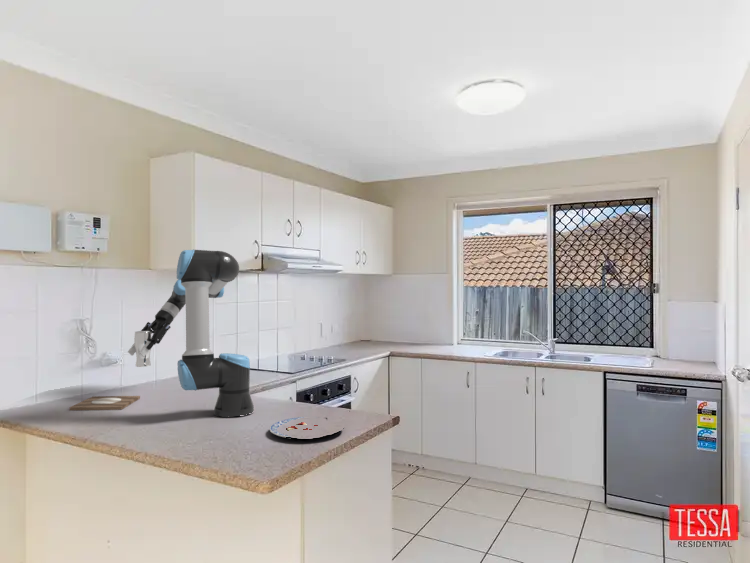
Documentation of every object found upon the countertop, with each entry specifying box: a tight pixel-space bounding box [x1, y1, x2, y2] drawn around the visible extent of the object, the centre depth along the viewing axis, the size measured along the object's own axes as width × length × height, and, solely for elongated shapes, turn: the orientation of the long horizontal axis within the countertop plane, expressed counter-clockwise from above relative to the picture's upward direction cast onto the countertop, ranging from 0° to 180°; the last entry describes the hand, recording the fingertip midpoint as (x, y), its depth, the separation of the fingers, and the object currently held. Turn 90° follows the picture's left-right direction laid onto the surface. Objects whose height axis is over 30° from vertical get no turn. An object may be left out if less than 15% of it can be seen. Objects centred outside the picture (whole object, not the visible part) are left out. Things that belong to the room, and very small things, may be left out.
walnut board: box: [68, 395, 141, 411], centre depth 212 cm, size 20×20×2 cm
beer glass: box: [133, 330, 152, 368], centre depth 222 cm, size 7×7×15 cm
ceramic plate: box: [269, 416, 318, 438], centre depth 174 cm, size 26×26×3 cm
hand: (135, 354), depth 219 cm, fingers closed on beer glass, 7 cm apart
